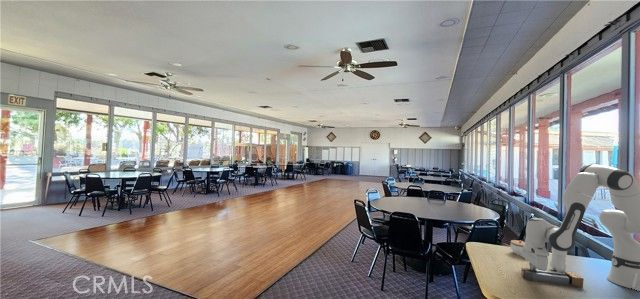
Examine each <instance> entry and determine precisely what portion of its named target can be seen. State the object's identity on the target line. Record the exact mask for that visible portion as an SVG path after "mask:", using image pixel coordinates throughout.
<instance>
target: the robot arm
mask: <svg viewBox="0 0 640 299" xmlns="http://www.w3.org/2000/svg"><path fill="white" fill-rule="evenodd" d="M635 177H636V176H634V175H633V174H632V173H631V172H629V171H626V170H624V169H619V168H616V167H613V166H609V165H602V164H598V163H586V164H584V165H583V166H581V168H580V170H579V172H577V174H575V176H574V177H572V179H571V180H570V181H569V183H568V184H567V186H566V188H565V190H564V192H563V194H562V202H563V205H564V207H565V215H564V217H563V219H562V222H561V225H560V226H557V225H555V224H552V223H550V222H549V221H547V220H546V219H545V218H543V217H531V218H528V220H527V222H526V226H525V227H526V228H525V235H526V236H525V240H524V242H525V245H523V249H522V256H521V257H523V258H524V259H525V260H526V261H528V264H529V269H536V270H543V271H547V269H548V263H549V256H550V252H549V250H548V249H547V247H546V243H549V244H550V246H551V248H552V247H553V248H554V249H556V250H559V251H567V252H568V251H570V250H572V249H573V248H574V247H575V244H576V243H575V242H576V233H577V231H578V229H579V227H580V224H581V223H582V220H583V218H584V216H585V213H586V210H587V208H588V206H589V205H590V203H591V202H592V199H593V198H594V195H595V194H596V191H597V189H598V188H600V187H603V188H607V189H609V196H610V199H611V203H612V205H613V206H614V207H615V208H616V209H611V208H610V209H604V210H602V211H601V212H600V214H599V216H598V218H599V222H600V224H601V225H603V227H605V228H606V229H607V230H608V231H609V233H610V235H611V237H612V240H613V253H612V254H611V267H610V270H609V274H608V275H607V277H606V279H607V280H608V281H610V282H611V283H613V284H616V285H617V286H621V287H625V288H628V289H631V288H632V290H634V289H635V290H634V291H636V290H637V291H636V292H639V291H640V242H639V241H638V240H636V239H635V238H634V237H633V236H632V234H634V235H637V236H640V186H639V184H638V181H637V180H636V178H635Z"/></svg>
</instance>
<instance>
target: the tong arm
mask: <svg viewBox="0 0 640 299" xmlns="http://www.w3.org/2000/svg"><path fill="white" fill-rule="evenodd" d="M524 271H531V272H537V273H545V274H552V275H560V276H567V274H566V273H564V272H557V271H553V270H552V271H550V270H546V271H543V270H538V269H530V268H528V267H521V276H522V277H523V278H524Z"/></svg>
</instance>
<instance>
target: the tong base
mask: <svg viewBox="0 0 640 299" xmlns="http://www.w3.org/2000/svg"><path fill="white" fill-rule="evenodd" d="M563 273H566V274H567V276H560V275H552V274H545V273H537V272H531V271H524V277H523V279H524V280H526V281H531V282H532V281H533V282H541V283H548V284H552V285H553V284H555V285H563V286H569V287H570V286H571V287H575V288H581V289H583V288H584V281H585V280H584V277H582V276H581V275H579V274H578V273H576V272H574V271H567V270H565V271H564V272H563Z"/></svg>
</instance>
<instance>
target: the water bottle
mask: <svg viewBox="0 0 640 299" xmlns="http://www.w3.org/2000/svg"><path fill="white" fill-rule="evenodd" d="M567 256H568V251H559V250H556V249H554V248H553V247H552V246H551V260H550V270H552V271H555V272H560V273H564V271H567V264H566V262H567V260H566V258H567Z"/></svg>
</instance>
